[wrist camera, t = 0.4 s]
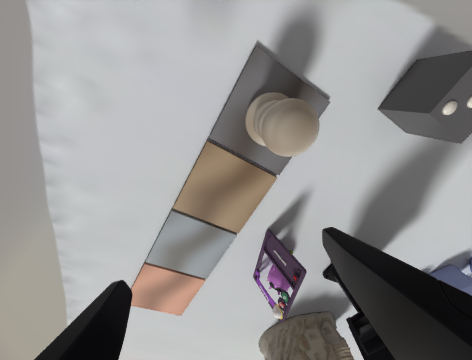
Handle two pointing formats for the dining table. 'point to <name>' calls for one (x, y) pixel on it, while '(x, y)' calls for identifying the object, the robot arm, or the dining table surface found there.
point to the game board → (218, 192)
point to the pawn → (282, 123)
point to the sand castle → (305, 339)
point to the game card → (280, 274)
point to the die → (434, 98)
